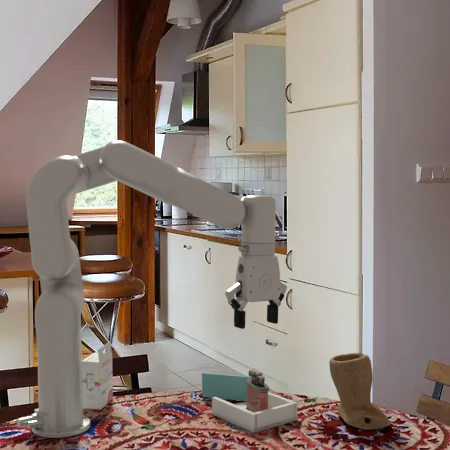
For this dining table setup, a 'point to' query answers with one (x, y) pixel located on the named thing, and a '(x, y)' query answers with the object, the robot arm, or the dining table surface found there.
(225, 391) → the box door
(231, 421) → the box
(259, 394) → the lighter
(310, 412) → the dining table surface
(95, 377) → the ink cartridge box
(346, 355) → the clay boot vessel
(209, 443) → the dining table surface
